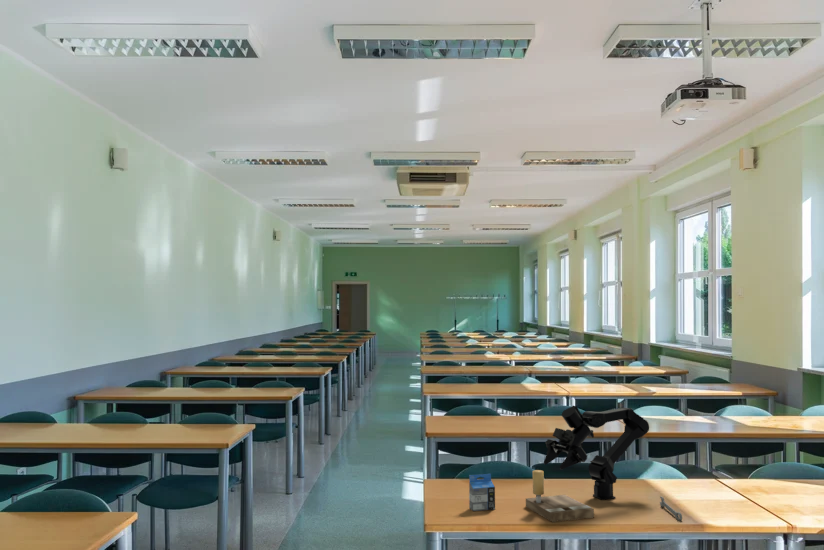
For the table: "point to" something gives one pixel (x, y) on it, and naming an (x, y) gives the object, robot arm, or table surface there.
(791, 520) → the table surface
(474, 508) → the ink cartridge box
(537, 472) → the tan handled tool
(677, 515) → the combination wrench
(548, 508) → the subfloor panel
